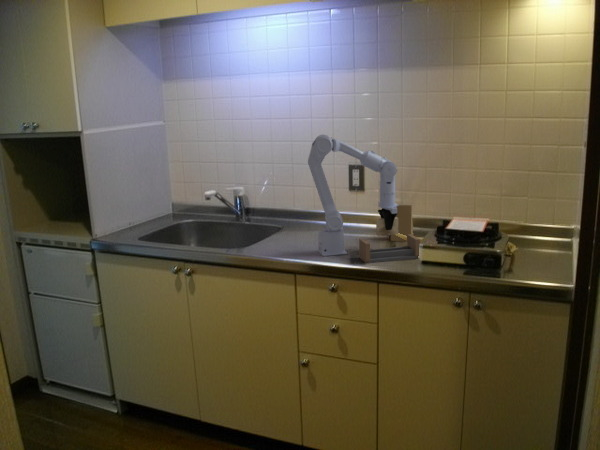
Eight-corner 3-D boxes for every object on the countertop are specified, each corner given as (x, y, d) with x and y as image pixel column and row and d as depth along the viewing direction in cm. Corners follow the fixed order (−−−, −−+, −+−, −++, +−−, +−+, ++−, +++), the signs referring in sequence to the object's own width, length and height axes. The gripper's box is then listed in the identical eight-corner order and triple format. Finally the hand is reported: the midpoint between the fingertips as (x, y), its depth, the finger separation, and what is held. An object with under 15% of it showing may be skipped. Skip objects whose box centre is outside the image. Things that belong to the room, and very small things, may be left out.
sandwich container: (414, 232, 242) (414, 198, 239) (411, 241, 227) (412, 204, 224) (393, 232, 244) (393, 197, 241) (390, 241, 230) (390, 204, 226)
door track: (366, 263, 200) (365, 243, 199) (359, 257, 208) (359, 238, 206) (419, 258, 204) (419, 239, 202) (411, 252, 212) (411, 234, 210)
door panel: (378, 235, 212) (378, 220, 211) (376, 234, 214) (376, 218, 213) (398, 233, 214) (398, 218, 212) (396, 232, 216) (396, 217, 214)
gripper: (405, 195, 204) (405, 232, 207) (390, 189, 218) (390, 224, 221) (386, 196, 203) (386, 234, 206) (373, 190, 217) (373, 225, 220)
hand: (387, 229), depth 213 cm, fingers closed on door panel, 2 cm apart
